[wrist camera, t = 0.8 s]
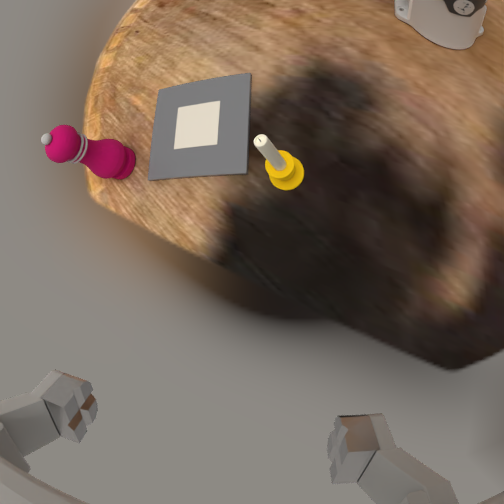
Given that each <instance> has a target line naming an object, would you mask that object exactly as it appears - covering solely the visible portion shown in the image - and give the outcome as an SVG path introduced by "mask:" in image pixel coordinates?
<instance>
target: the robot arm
mask: <svg viewBox="0 0 504 504" xmlns="http://www.w3.org/2000/svg"><path fill="white" fill-rule="evenodd" d="M486 1H487V0H394V7H395V16H396V17H397V18H398V19H400V20H402V21H403V22H405V23H408V24H409V25H411V26H412V27H413V28H414V29H415V30H417V31H418V32H419V33H420V34H421V35H423V36H424V37H425V38H427V39H429V40H430V41H432V42H434V43H436V44H438V45H441V46H443V47H447V48H451V49H466V48H469V47H470V46H472V45H473V43H474V41H475V39H476V38H477V37H478V36H481V35H482V34H483V32H484V29H483V27H482V22H483V20H484V16H485V13H486V10H487V7H486V5H485V3H486ZM400 10H401V11H400ZM92 391H93V388H92V385H91V383H90V382H88V381H86V380H83V379H81V378H78V377H75V376H72V375H69V374H67V373H63V372H61V371H58V370H52V371H51V372H50V373H49V374H48V375H47V376H46V377H45V378H44V379H43V380H42V381H41V382H40V383H39V384H38V386H36V388H35V389H34V390H33V391H32V392H31V393H23V394H20V395H17V396H14V397H11V398H8V399H5V400H1V401H0V504H88V503H86V502H84V501H81V500H79V499H77V498H74V497H72V496H70V495H68V494H66V493H64V492H62V491H60V490H58V489H56V488H54V487H52V486H50V485H48V484H46V483H44V482H42V481H41V480H39V479H37V478H35V477H34V476H32V475H30V474H28V472H29V471H30V466H29V465H28V463H27V462H26V460H25V459H24V456H26V455H28V454H30V453H32V452H34V451H36V450H38V449H39V448H41V447H43V446H45V445H47V444H49V443H50V442H52V441H54V440H56V439H57V438H59V437H60V436H62V437H64V438H67V439H69V440H72V441H74V442H77V443H80V442H81V440H82V439H83V437H84V435H85V434H86V432H87V427H86V426H87V425H89V424H91V423H93V421H94V419H95V418H96V414H97V411H98V408H97V402H96V399H95V398H94V397H93V395H92V394H91V392H92ZM334 428H335V430H334V431H332V432H331V433H330V436H329V438H328V445H327V453H328V458H329V459H330V460H331V461H332V464H331V467H330V474H331V481H332V484H340V483H356V482H358V483H357V484H358V485H359V486H360V487H361V489H362V490H363V491H364V492H365V493H366V494H367V495H368V496H369V497H370V498H371V499H372V500H373V501H374V502H375V503H376V504H459V503H458V500H457V498H456V495H455V493H454V491H453V488H452V486H451V484H450V481H448V480H446V479H445V478H443V477H442V476H440V475H439V474H438V473H436V472H434V471H433V470H432V469H430V468H429V467H427V466H426V465H424V464H423V463H421V462H420V461H419V460H417V459H416V458H414V457H413V456H411V455H410V454H408V453H407V452H406V451H404V450H403V449H402V448H396V445H395V443H394V440H393V437H392V435H391V432H390V430H389V427H388V424H387V422H386V419H385V417H384V415H383V414H382V413H380V414H367V415H366V414H365V415H345V416H337V417H336V419H335V422H334ZM478 504H504V491H503V492H501V493H499V494H497V495H495V496H493V497H491V498H489V499H487V500H485V501H482V502H480V503H478Z"/></svg>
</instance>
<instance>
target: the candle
mask: <svg viewBox="0 0 504 504" xmlns="http://www.w3.org/2000/svg"><path fill="white" fill-rule="evenodd" d="M254 144H255V146H256V147H257V149H258V150H259V151H260V152H261V153H262V154H263V156H264V157H265V158H266V162H265V168H266V171H267V172H268V174H269V177H270V180H271V182H272V183H273V185H274V186H276V187H277V188H279V189H281V190H292V189H295V188H296V187H298V186H299V185H300V184H301V182H302V180H303V178H304V168H303V166H302V164H301V163H300V161H299V160H297V159H296V158H294V157H292V156H291V155H290V154H289V153H288V152H286V151H282V150H278V151H277V149H276V148H275V147H274V145H273V144H272V143H271V141H270V140H269V139H268V138H267V137H266V136H265V135H263V134H261V135H258V136H256V138H255V139H254Z"/></svg>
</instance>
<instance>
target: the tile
mask: <svg viewBox="0 0 504 504" xmlns="http://www.w3.org/2000/svg"><path fill="white" fill-rule="evenodd" d="M251 81H252V75H251V73H245V74H237V75H231V76H224V77H218V78H212V79H207V80H201V81H196V82H191V83H186V84H182V85H177V86H173V87H169V88H164V89H160V90H159V92H158V98H157V105H156V112H155V119H154V126H153V134H152V143H151V152H150V162H149V173H148V180H149V181H155V180H165V179H177V178H190V177H205V176H222V175H243V174H248V158H249V131H250V106H251Z"/></svg>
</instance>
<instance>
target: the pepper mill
mask: <svg viewBox="0 0 504 504" xmlns="http://www.w3.org/2000/svg"><path fill="white" fill-rule="evenodd" d="M41 142H42V143H43V144H44V145H45V150H46V154H47V156H48V157H49V159H50V160H52V161H54V162H57V163H63V162H66V161H67V162H70V163H73V164H74V163H78V162H80V163H83V164H85V165H86V166H87V167H88V168H89V169H90V170H91V171H92V172H93V173H94V174H96V175H97V176H99V177H102V178H106V179H107V178H111V177H112V178H115V179H124V178H126V177H127V176H128V175H130V173H131V172H132V170H133V168H134V166H135V154H134V152H133V151H132V150H131V149H129V148H127V147H125V146H123V145H122V143H120V142H119V141H117V140H114V139H103V140H98V141H95V140H90V139H87V137H86V136H85V135H84V134H81V133H79V132H76V130H75V129H74V128H73V127H71V126H68V125H60V126H57V127H56V128H54V129H53V130H52V131H51V132H50V133H46V134H44V135H43V136H42V138H41Z"/></svg>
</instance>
